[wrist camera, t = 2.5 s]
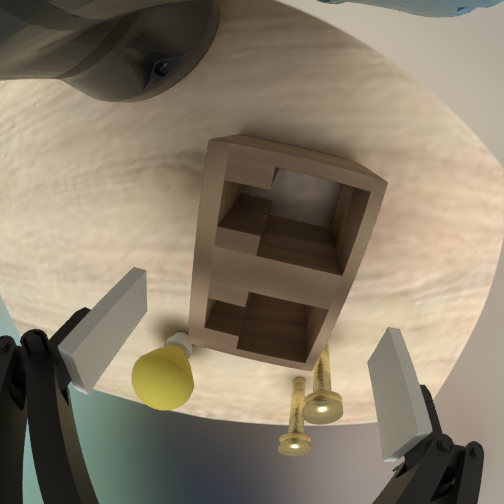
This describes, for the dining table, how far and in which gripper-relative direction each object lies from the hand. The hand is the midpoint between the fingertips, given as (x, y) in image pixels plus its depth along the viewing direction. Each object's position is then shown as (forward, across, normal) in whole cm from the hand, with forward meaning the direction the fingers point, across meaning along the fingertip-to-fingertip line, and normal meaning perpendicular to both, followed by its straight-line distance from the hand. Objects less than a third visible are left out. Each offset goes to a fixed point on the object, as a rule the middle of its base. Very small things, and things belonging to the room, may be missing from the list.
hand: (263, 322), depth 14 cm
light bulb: (+12, -8, -16) cm, 21 cm away
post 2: (+12, +7, -10) cm, 17 cm away
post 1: (+12, +7, -18) cm, 23 cm away
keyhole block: (+12, 0, 0) cm, 12 cm away
